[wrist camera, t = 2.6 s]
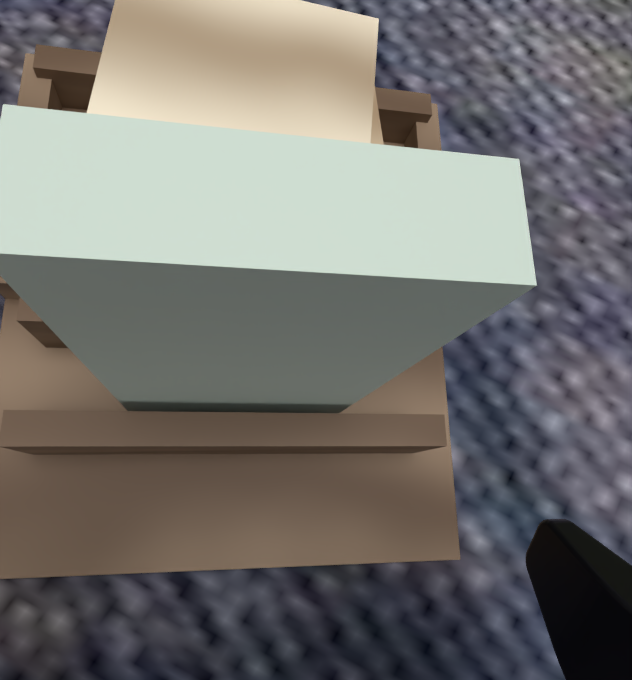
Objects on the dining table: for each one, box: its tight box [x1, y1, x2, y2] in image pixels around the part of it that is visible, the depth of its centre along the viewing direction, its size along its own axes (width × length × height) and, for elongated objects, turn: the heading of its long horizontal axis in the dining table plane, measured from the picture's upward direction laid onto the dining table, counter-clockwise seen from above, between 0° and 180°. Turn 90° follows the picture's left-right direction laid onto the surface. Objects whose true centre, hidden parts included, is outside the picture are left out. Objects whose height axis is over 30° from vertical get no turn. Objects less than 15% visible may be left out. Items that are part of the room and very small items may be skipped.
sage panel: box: [0, 104, 537, 413], centre depth 13 cm, size 2×7×13 cm, turn 91°
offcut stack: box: [87, 0, 384, 145], centre depth 18 cm, size 7×9×7 cm
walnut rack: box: [0, 44, 460, 579], centre depth 19 cm, size 18×16×4 cm
